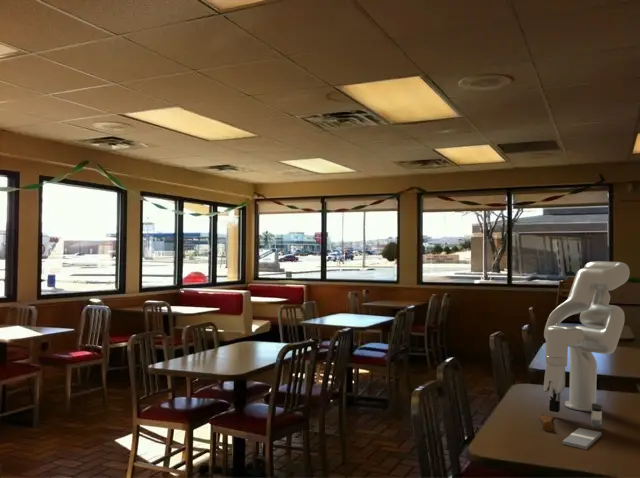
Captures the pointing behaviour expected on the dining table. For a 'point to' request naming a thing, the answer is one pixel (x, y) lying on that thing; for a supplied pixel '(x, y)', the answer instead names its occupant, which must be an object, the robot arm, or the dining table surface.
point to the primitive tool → (547, 422)
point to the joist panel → (582, 438)
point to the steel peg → (596, 416)
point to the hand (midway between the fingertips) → (554, 411)
